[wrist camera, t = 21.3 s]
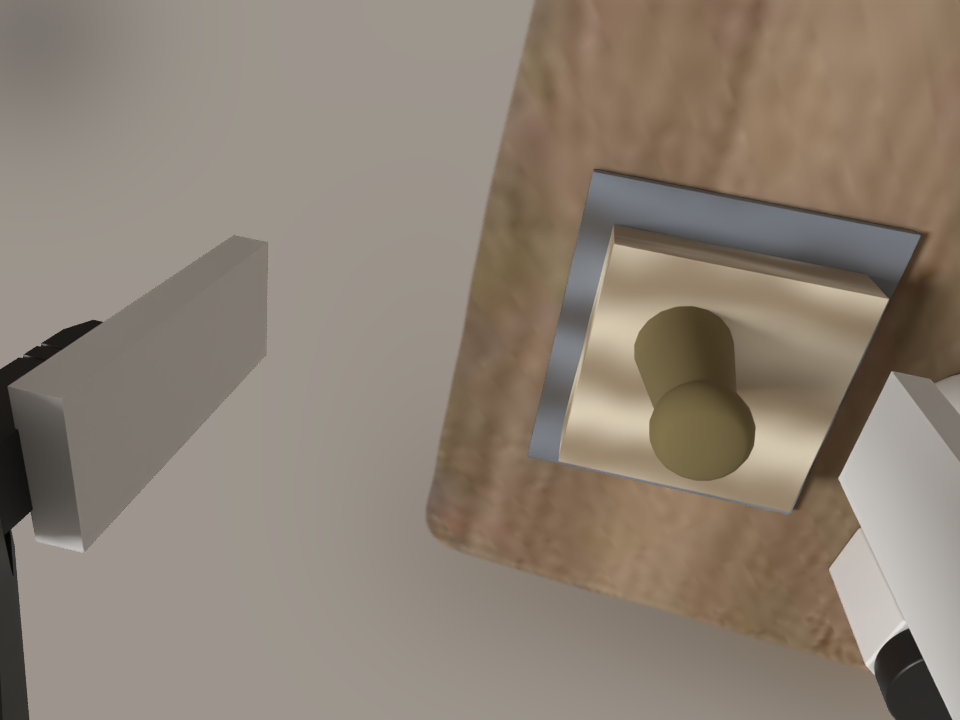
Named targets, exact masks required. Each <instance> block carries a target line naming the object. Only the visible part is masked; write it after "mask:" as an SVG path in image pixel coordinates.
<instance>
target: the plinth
mask: <svg viewBox="0 0 960 720" xmlns="http://www.w3.org/2000/svg"><path fill="white" fill-rule="evenodd" d="M920 236H921V235H920V234H918V233H917V232H916V231H911V230H906V229H900V228H895V227H890V226H885V225H880V224H875V223H870V222H864V221H859V220H854V219H849V218H844V217H839V216H834V215H828V214H823V213H818V212H813V211H808V210H803V209H797V208H792V207H787V206H782V205H777V204H772V203H767V202H761V201H756V200H751V199H746V198H741V197H736V196H731V195H725V194H720V193H715V192H710V191H705V190H700V189H695V188H689V187H684V186H679V185H674V184H669V183H664V182H658V181H653V180H648V179H643V178H638V177H633V176H628V175H622V174H617V173H612V172H607V171H602V170H597V169H594V170H593V174H592V178H591V183H590V187H589V191H588V196H587V200H586V204H585V209H584V213H583V217H582V222H581V226H580V230H579V235H578V239H577V243H576V248H575V252H574V256H573V261H572V265H571V269H570V274H569V278H568V282H567V287H566V291H565V295H564V300H563V304H562V308H561V313H560V317H559V321H558V326H557V330H556V334H555V339H554V343H553V347H552V352H551V356H550V360H549V365H548V369H547V373H546V378H545V382H544V386H543V391H542V395H541V399H540V404H539V408H538V412H537V417H536V421H535V425H534V430H533V434H532V438H531V442H530V447H529V451H528V457H531V458H535V459H540V460H545V461H549V462H554V463H558V464H563V465H567V466H572V467H576V468H581V469H585V470H590V471H594V472H599V473H603V474H608V475H613V476H617V477H622V478H626V479H631V480H635V481H640V482H644V483H649V484H653V485H658V486H662V487H667V488H671V489H676V490H681V491H685V492H690V493H694V494H699V495H703V496H708V497H712V498H717V499H721V500H726V501H730V502H735V503H739V504H744V505H749V506H753V507H758V508H762V509H767V510H771V511H776V512H780V513H785V514H789V515H790V513H791V511H792V509H793V507H794V505H795V503H796V501H797V499H798V496H799V494H800V492H801V490H802V488H803V486H804V484H805V481H806V479H807V477H808V475H809V473H810V471H811V469H812V467H813V464H814V462H815V460H816V458H817V456H818V454H819V452H820V450H821V447H822V445H823V443H824V441H825V439H826V437H827V435H828V432H829V430H830V428H831V426H832V424H833V422H834V420H835V418H836V415H837V413H838V411H839V409H840V407H841V405H842V403H843V400H844V398H845V396H846V394H847V392H848V390H849V388H850V386H851V383H852V381H853V379H854V377H855V375H856V373H857V371H858V368H859V366H860V364H861V362H862V360H863V358H864V356H865V354H866V351H867V349H868V347H869V345H870V343H871V341H872V339H873V337H874V334H875V332H876V330H877V328H878V326H879V324H880V322H881V319H882V317H883V315H884V313H885V311H886V309H887V307H888V305H889V302H890V300H891V298H892V296H893V294H894V292H895V290H896V287H897V285H898V283H899V281H900V279H901V277H902V275H903V273H904V270H905V268H906V266H907V264H908V262H909V260H910V258H911V256H912V253H913V251H914V249H915V247H916V245H917V243H918V241H919V238H920ZM679 306H694V307H698V308H702V309H706V310H709V311H710V312H712V313H714V314H715V315H717V316H718V317H720V318H721V319H722V320H723V321H724V323H725V324H726V325H727V327H728V328H729V329H730V332H731V335H732V338H733V341H734V353H735V370H736V388H737V394H738V395H739V396H740V397H741V398H742V399H743V400H744V402H745V403H746V404H747V405H748V407H749V408H750V411H751V413H752V416H753V420H754V423H755V426H756V430H755V442H754V447H753V449H752V451H751V453H750V455H749V457H748V459H747V460H746V461H745V462H744V463H743V464H742V465H741V466H740V467H739V468H738V469H737V470H736V471H734V472H733V473H731V474H729V475H727V476H725V477H723V478H719V479H715V480H711V481H695V480H691V479H687V478H683V477H681V476H679V475H677V474H675V473H674V472H672V471H670V470H668V469H667V468H666V467H665V466H664V465H663V464H662V463H661V462H660V460H659V459H658V458H657V456H656V455H655V453H654V450H653V448H652V445H651V443H650V438H649V421H650V418H651V416H652V413H653V411H654V408H653V405H652V403H651V400H650V398H649V395H648V393H647V390H646V387H645V385H644V382H643V380H642V377H641V375H640V372H639V370H638V367H637V364H636V362H635V359H634V344H635V341H636V339H637V336H638V333H639V331H640V330H641V329H642V327H643V326H644V325H645V324H646V322H647V321H648V320H649V319H651V318H652V317H654V316H655V315H657V314H658V313H660V312H661V311H664V310H667V309H670V308H674V307H679Z"/></svg>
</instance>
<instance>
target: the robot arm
mask: <svg viewBox="0 0 960 720" xmlns="http://www.w3.org/2000/svg"><path fill="white" fill-rule="evenodd" d="M267 274H268V242H264V241H259V240H255V239H250V238H245V237H240V236H235V235H233V236H232V237H230V238H229V239H227V240H226V241H224V242H223V243H221V244H220V245H218V246H217V247H215V248H214V249H212V250H211V251H209V252H208V253H206V254H205V255H203V256H202V257H200V258H199V259H197V260H196V261H194V262H193V263H191V264H190V265H188V266H187V267H185V268H184V269H182V270H181V271H179V272H178V273H176V274H175V275H173V276H172V277H170V278H169V279H167V280H166V281H164V282H163V283H161V284H160V285H158V286H157V287H155V288H154V289H152V290H151V291H149V292H148V293H146V294H145V295H143V296H142V297H140V298H139V299H137V300H136V301H134V302H133V303H131V304H130V305H128V306H127V307H125V308H124V309H122V310H121V311H120V312H118V313H116V314H115V315H114V316H112V317H110V318H109V319H107V320H106V321H104V322H101V321H96V320H91V321H88V322H85V323H82V324H79V325H76V326H72V327H70V328H66V329H63V330H62V331H60V332H59V333H57V334H55V335H54V336H52V337H51V338H49V339H47V340H46V341H44V342H43V343H41V347H39V346H36V347H35V348H33V349H32V350H30V351H28V352H27V353H25V354H24V356H23V358H17V359H16V360H14V361H13V362H11V363H9V364H8V365H6V366H5V367H3V368H2V369H0V720H29V711H28V699H27V688H26V676H25V664H24V652H23V640H22V629H21V617H20V605H19V593H18V582H17V570H16V558H15V546H14V541H13V536H12V532H11V529H12V528H13V527H14V526H15V525H16V524H17V523H18V522H19V521H21V520H22V519H23V518H24V517H25V516H26V515H27V514H28V513H29V512H31V516H32V521H33V527H34V532H35V537H36V541H37V542H41V543H45V544H49V545H54V546H58V547H62V548H66V549H70V550H74V551H78V552H83V553H84V552H85V551H86V550H87V549H88V548H89V547H90V546H91V545H92V544H93V542H94V541H95V540H96V539H97V538H98V537H99V536H100V535H101V534H102V533H103V532H104V530H105V529H106V528H107V527H108V526H109V525H110V524H111V523H112V522H113V521H114V520H115V519H116V517H117V516H118V515H119V514H120V513H121V512H122V511H123V510H124V509H125V508H126V507H127V505H128V504H129V503H130V502H131V501H132V500H133V499H134V498H135V497H136V496H137V495H138V494H139V493H140V491H141V490H142V489H143V488H144V487H145V486H146V485H147V484H148V483H149V481H151V479H152V478H153V477H154V476H155V475H156V474H157V473H158V472H159V470H161V469H162V468H163V466H164V465H165V464H166V463H167V462H168V461H169V460H170V459H171V458H172V457H173V455H175V453H176V452H177V451H178V450H179V449H180V448H181V447H182V446H183V445H184V444H185V443H186V441H187V440H188V439H189V438H190V437H191V436H192V435H193V434H194V433H195V432H196V431H197V429H198V428H199V427H200V426H201V425H202V424H203V423H204V422H205V421H206V420H207V419H208V418H209V416H210V415H211V414H212V413H213V412H214V411H215V410H216V409H217V408H218V407H219V406H220V405H221V403H222V402H223V401H224V400H225V399H226V398H227V397H228V396H229V395H230V394H231V392H233V390H234V389H235V388H236V387H237V386H238V385H239V384H240V383H241V382H242V381H243V380H244V378H245V377H246V376H247V375H248V374H249V373H250V372H251V371H252V370H253V369H254V368H255V367H256V365H257V364H258V363H259V362H260V361H261V360H262V359H263V358H264V357H265V356H266V339H267ZM838 479H839V481H840V483H841V485H842V488H843V490H844V492H845V494H846V496H847V498H848V500H849V502H850V504H851V507H852V509H853V511H854V513H855V515H856V517H857V519H858V521H859V523H860V526H861V528H862V530H863V532H864V534H865V536H866V538H867V540H868V542H869V545H870V547H871V549H872V551H873V553H874V555H875V557H876V559H877V561H878V564H879V566H880V568H881V570H882V572H883V574H884V576H885V578H886V580H887V583H888V585H889V587H890V589H891V591H892V593H893V595H894V597H895V599H896V602H897V604H898V606H899V608H900V610H901V612H902V614H903V616H904V618H905V621H906V623H907V625H908V627H909V629H910V631H911V633H912V635H913V637H914V640H915V642H916V644H917V646H918V648H919V650H920V652H921V654H922V656H923V659H924V661H925V663H926V665H927V667H928V669H929V671H930V673H931V676H932V678H933V680H934V682H935V684H936V686H937V688H938V690H939V692H940V695H941V697H942V699H943V701H944V703H945V705H946V707H947V709H948V711H949V714H950V716H951V718H952V720H960V414H959V413H958V412H957V411H956V409H955V408H954V407H953V406H952V405H951V403H950V402H949V401H948V400H947V399H946V397H945V396H944V395H943V394H942V392H941V391H940V390H939V389H938V388H937V386H936V385H935V384H934V383H933V382H932V380H931V379H928V378H923V377H918V376H914V375H909V374H904V373H899V372H894V371H892V372H891V374H890V376H889V378H888V380H887V382H886V384H885V386H884V388H883V390H882V392H881V394H880V396H879V398H878V400H877V402H876V404H875V406H874V408H873V410H872V412H871V414H870V416H869V418H868V420H867V422H866V424H865V426H864V428H863V430H862V432H861V434H860V436H859V438H858V440H857V442H856V444H855V446H854V448H853V450H852V452H851V454H850V456H849V458H848V460H847V462H846V464H845V466H844V468H843V470H842V472H841V474H840V476H839V478H838Z"/></svg>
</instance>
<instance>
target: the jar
mask: <svg viewBox="0 0 960 720" xmlns="http://www.w3.org/2000/svg"><path fill="white" fill-rule="evenodd" d="M829 571H830V574H831V576H832V579H833V582H834V584H835V587H836V589H837V592H838V595H839V597H840V600H841V603H842V605H843V608H844V610H845V613H846V616H847V618H848V621H849V623H850V626H851V629H852V631H853V634H854V636H855V639H856V642H857V644H858V647H859V650H860V652H861V655H862V657H863V660H864V663H865V665H866V666H867V668H868V669H869V670H870V671H871V672H872V673H873V674H874V675H875V677H876V679H877V682H878V684H879V687H880V690H881V692H882V695H883V697H884V700H885V702H886V705H887V707H888V710H889V711H890V713H891V715H892V716H893V717H894V718H895V719H896V720H952V718H951V716H950V714H949V711H948V709H947V707H946V705H945V703H944V701H943V699H942V697H941V695H940V692H939V690H938V688H937V686H936V684H935V682H934V680H933V678H932V676H931V673H930V671H929V669H928V667H927V665H926V663H925V661H924V659H923V656H922V654H921V652H920V650H919V648H918V646H917V644H916V642H915V640H914V637H913V635H912V633H911V631H910V629H909V627H908V625H907V623H906V621H905V618H904V616H903V614H902V612H901V610H900V608H899V606H898V604H897V602H896V599H895V597H894V595H893V593H892V591H891V589H890V587H889V585H888V583H887V580H886V578H885V576H884V574H883V572H882V570H881V568H880V566H879V564H878V561H877V559H876V557H875V555H874V553H873V551H872V549H871V547H870V545H869V542H868V540H867V538H866V536H865V534H864V532H863V530H862V528H859V529H858V530H857V531H856V533H855V534H854V535H853V537H852V538H851V540H850V541H849V542H848V544H847V545H846V546H845V548H844V549H843V550H842V552H841V553H840V554H839V556H838V557H837V559H836V560H835V561H834V563H833V564H832V565H831V567H830V568H829Z"/></svg>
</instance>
